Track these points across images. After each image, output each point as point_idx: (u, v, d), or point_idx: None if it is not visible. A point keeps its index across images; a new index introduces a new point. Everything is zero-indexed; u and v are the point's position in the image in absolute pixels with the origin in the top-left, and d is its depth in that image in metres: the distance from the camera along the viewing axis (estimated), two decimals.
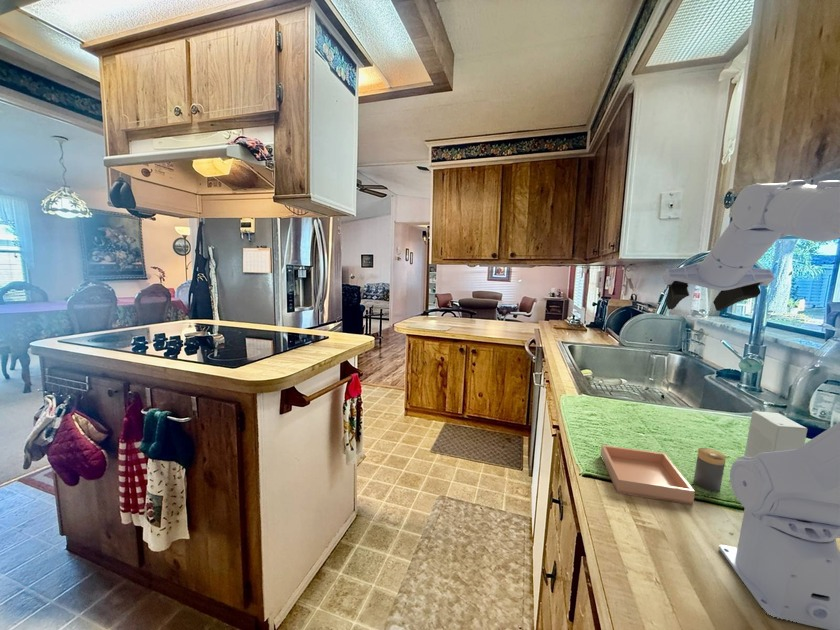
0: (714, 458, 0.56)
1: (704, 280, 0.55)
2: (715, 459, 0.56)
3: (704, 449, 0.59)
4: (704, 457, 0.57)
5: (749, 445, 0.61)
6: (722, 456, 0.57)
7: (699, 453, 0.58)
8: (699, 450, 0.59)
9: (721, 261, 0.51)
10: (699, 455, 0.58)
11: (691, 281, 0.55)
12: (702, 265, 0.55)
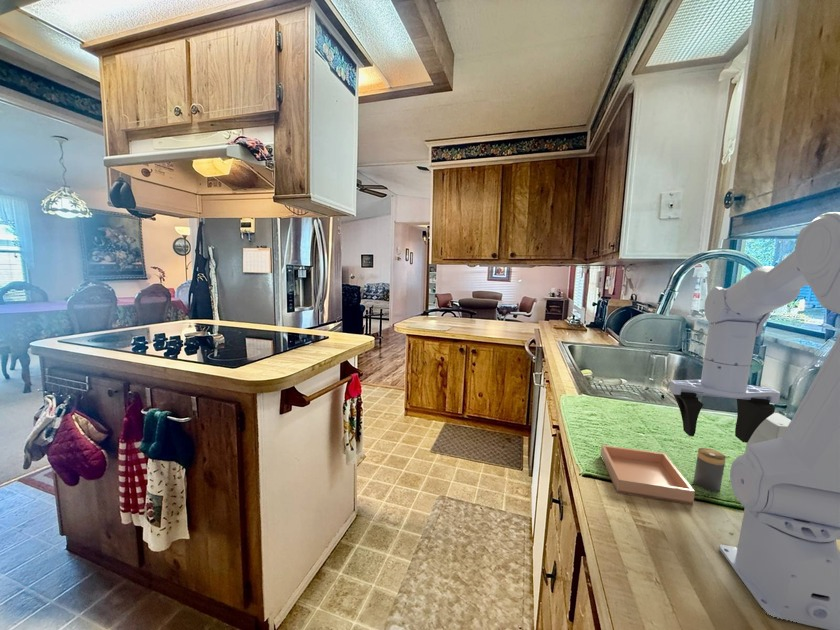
0: (714, 458, 0.56)
1: (711, 387, 0.55)
2: (715, 459, 0.56)
3: (704, 449, 0.59)
4: (704, 457, 0.57)
5: None
6: (722, 456, 0.57)
7: (699, 453, 0.58)
8: (699, 450, 0.59)
9: (715, 360, 0.54)
10: (699, 455, 0.58)
11: (698, 388, 0.55)
12: (702, 375, 0.56)
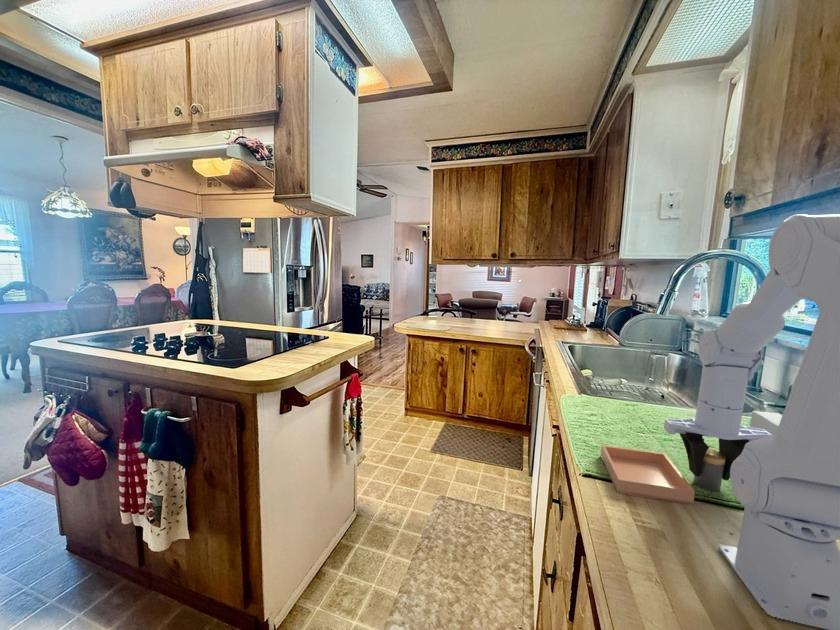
0: (714, 458, 0.56)
1: (704, 428, 0.56)
2: (715, 458, 0.56)
3: None
4: (704, 457, 0.57)
5: None
6: (722, 456, 0.57)
7: None
8: None
9: (708, 402, 0.55)
10: None
11: (692, 428, 0.56)
12: (696, 415, 0.58)
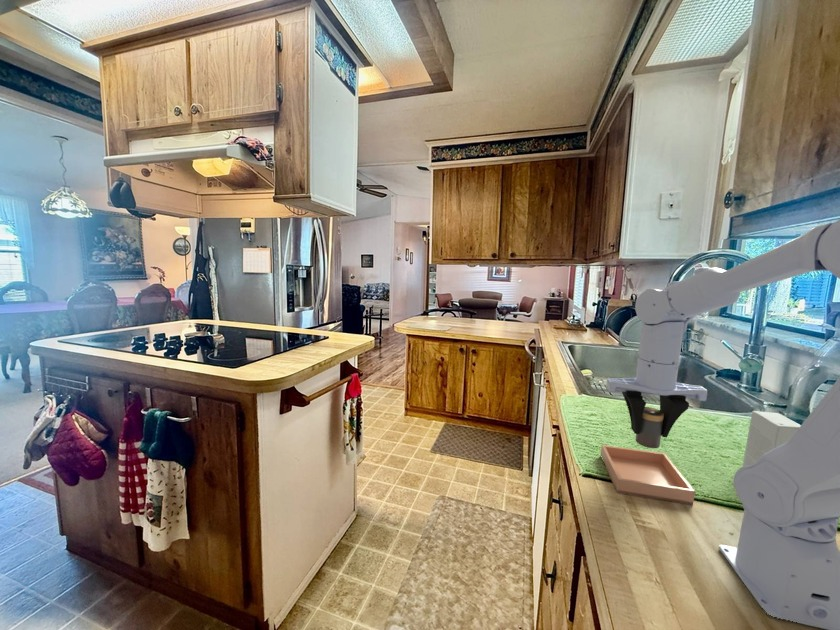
0: (652, 415, 0.57)
1: (642, 385, 0.56)
2: (653, 415, 0.57)
3: (645, 408, 0.60)
4: (643, 414, 0.58)
5: (749, 445, 0.61)
6: (661, 413, 0.57)
7: None
8: None
9: (655, 361, 0.54)
10: None
11: (631, 385, 0.57)
12: (636, 373, 0.58)
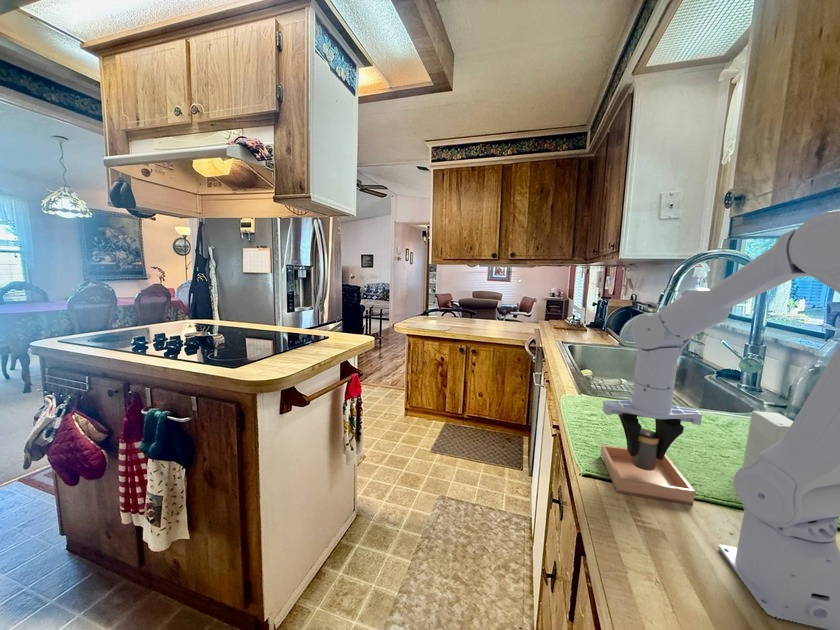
0: (647, 437, 0.58)
1: (638, 409, 0.57)
2: (649, 438, 0.57)
3: (641, 429, 0.60)
4: (639, 437, 0.58)
5: (749, 445, 0.61)
6: (656, 436, 0.58)
7: None
8: None
9: (651, 386, 0.55)
10: None
11: (626, 409, 0.58)
12: (632, 396, 0.59)
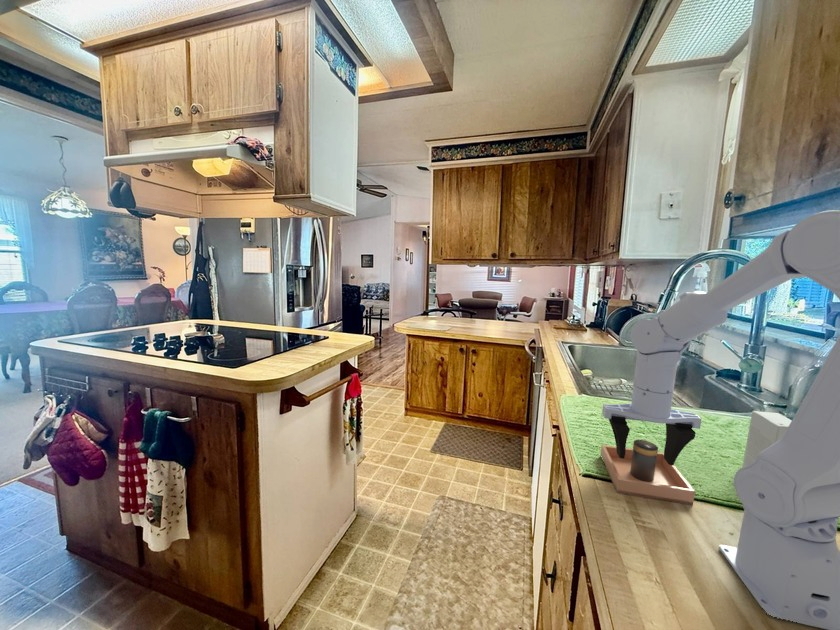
0: (646, 449, 0.58)
1: (637, 412, 0.57)
2: (647, 450, 0.58)
3: (640, 441, 0.61)
4: (637, 448, 0.59)
5: (749, 445, 0.61)
6: (655, 447, 0.59)
7: (634, 444, 0.60)
8: (634, 442, 0.60)
9: (650, 390, 0.55)
10: (634, 446, 0.60)
11: (626, 413, 0.58)
12: (632, 400, 0.59)
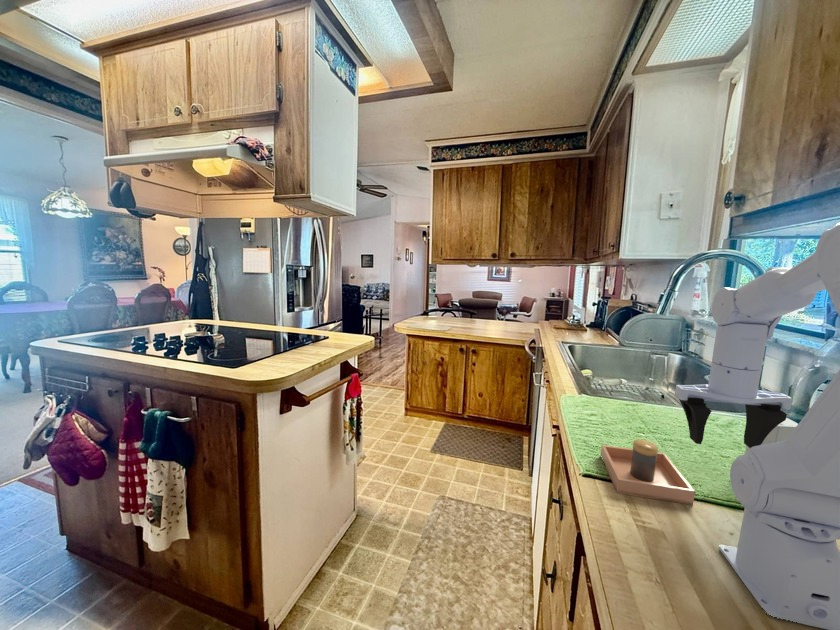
0: (646, 449, 0.58)
1: (719, 393, 0.52)
2: (647, 450, 0.58)
3: (640, 441, 0.61)
4: (637, 448, 0.59)
5: None
6: (655, 447, 0.59)
7: (634, 444, 0.60)
8: (634, 442, 0.60)
9: (723, 364, 0.51)
10: (634, 446, 0.60)
11: (706, 393, 0.52)
12: (710, 379, 0.54)
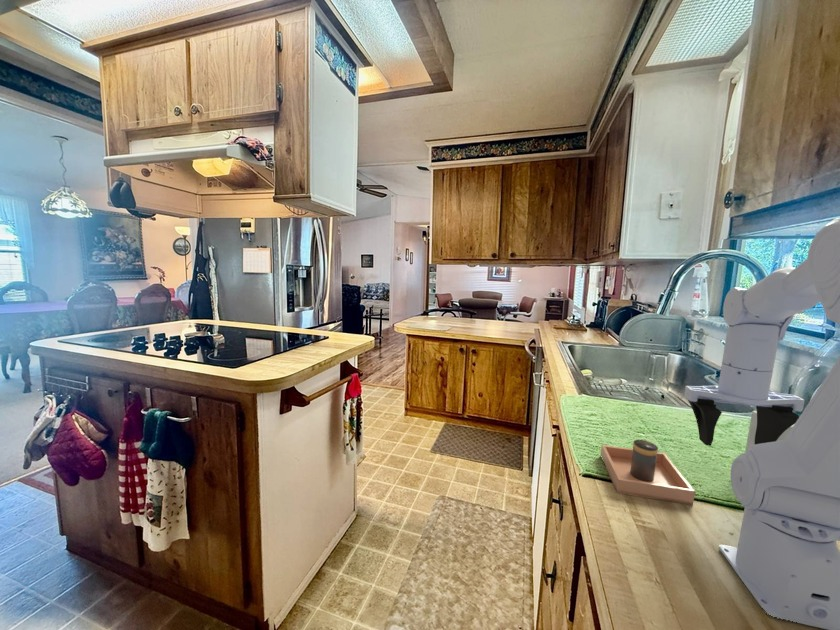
0: (646, 449, 0.58)
1: (730, 394, 0.52)
2: (647, 450, 0.58)
3: (640, 441, 0.61)
4: (637, 448, 0.59)
5: (749, 445, 0.61)
6: (655, 447, 0.59)
7: (634, 445, 0.60)
8: (634, 442, 0.60)
9: (733, 364, 0.51)
10: (634, 446, 0.60)
11: (716, 394, 0.52)
12: (720, 381, 0.53)
